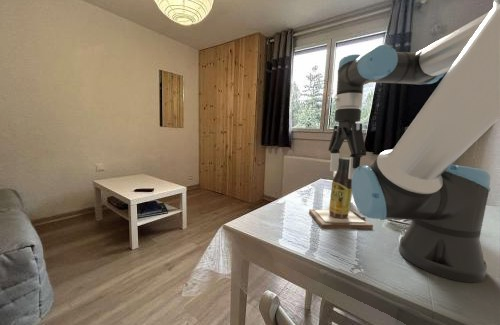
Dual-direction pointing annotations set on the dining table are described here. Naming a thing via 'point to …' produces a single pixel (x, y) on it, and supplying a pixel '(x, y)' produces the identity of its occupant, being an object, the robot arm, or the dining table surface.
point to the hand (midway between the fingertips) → (342, 174)
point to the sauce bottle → (341, 190)
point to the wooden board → (340, 220)
